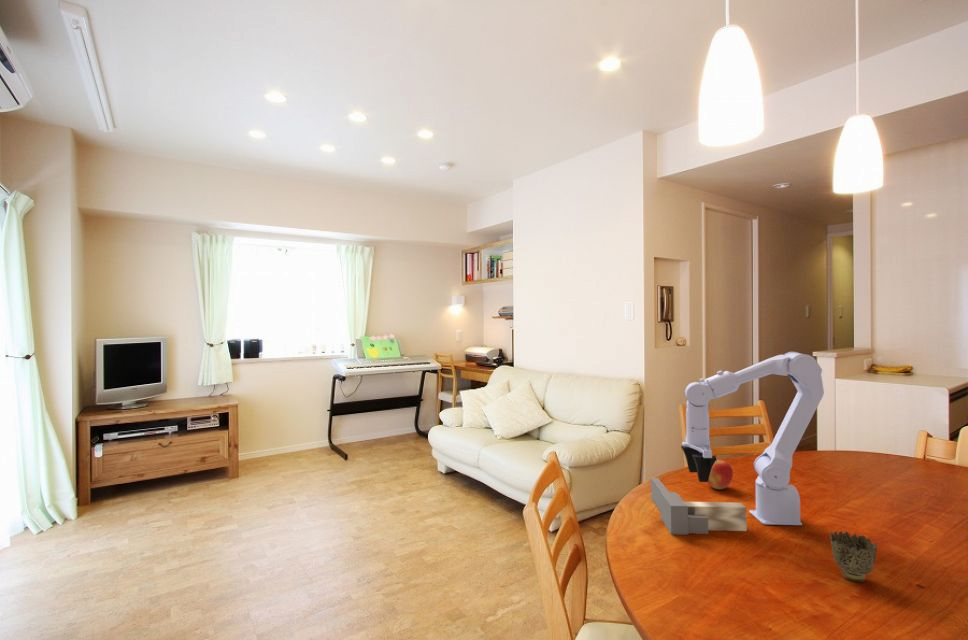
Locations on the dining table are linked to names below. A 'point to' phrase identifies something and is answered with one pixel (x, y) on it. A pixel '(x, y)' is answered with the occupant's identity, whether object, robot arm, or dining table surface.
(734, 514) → the birch rail
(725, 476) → the apple
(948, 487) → the dining table surface
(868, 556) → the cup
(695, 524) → the grey stepped block
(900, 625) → the dining table surface
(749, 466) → the dining table surface
